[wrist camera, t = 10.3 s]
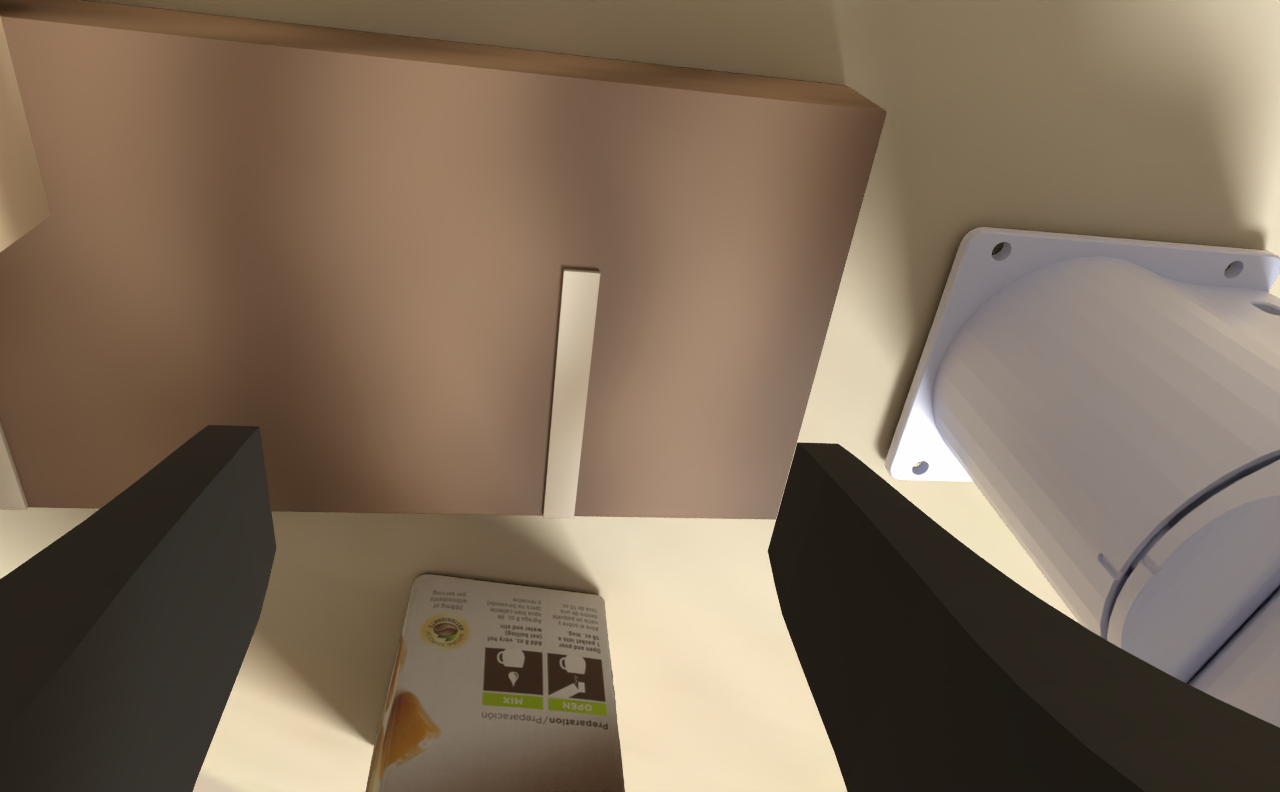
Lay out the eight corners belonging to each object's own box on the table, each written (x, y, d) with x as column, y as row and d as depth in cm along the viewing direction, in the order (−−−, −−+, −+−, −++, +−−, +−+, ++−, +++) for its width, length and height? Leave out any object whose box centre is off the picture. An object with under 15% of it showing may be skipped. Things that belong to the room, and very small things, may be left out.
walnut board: (846, 86, 19) (888, 112, 17) (754, 465, 25) (776, 521, 23) (-385, -52, 15) (-537, -40, 13) (-160, 439, 21) (-240, 505, 19)
